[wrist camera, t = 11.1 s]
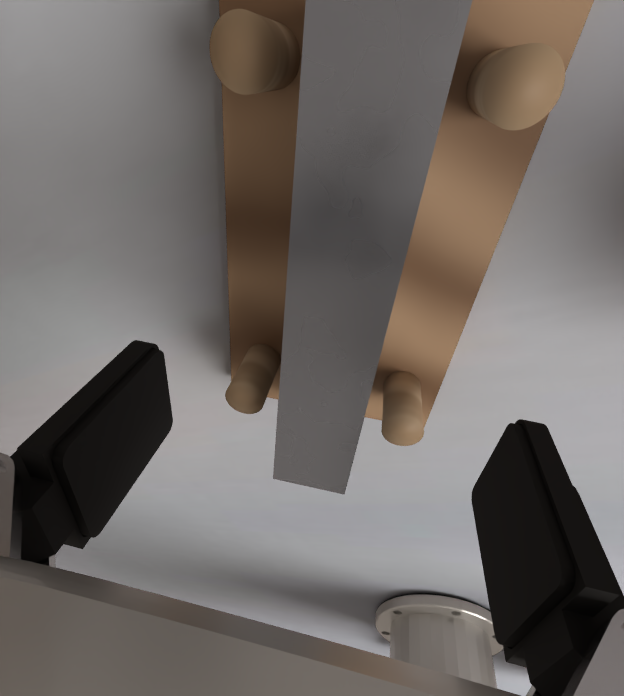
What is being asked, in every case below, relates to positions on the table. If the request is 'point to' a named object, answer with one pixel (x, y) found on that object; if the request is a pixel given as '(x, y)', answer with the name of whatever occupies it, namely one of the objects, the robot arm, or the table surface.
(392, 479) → the table surface
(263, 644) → the robot arm
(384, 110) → the steel bar
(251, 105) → the rack
